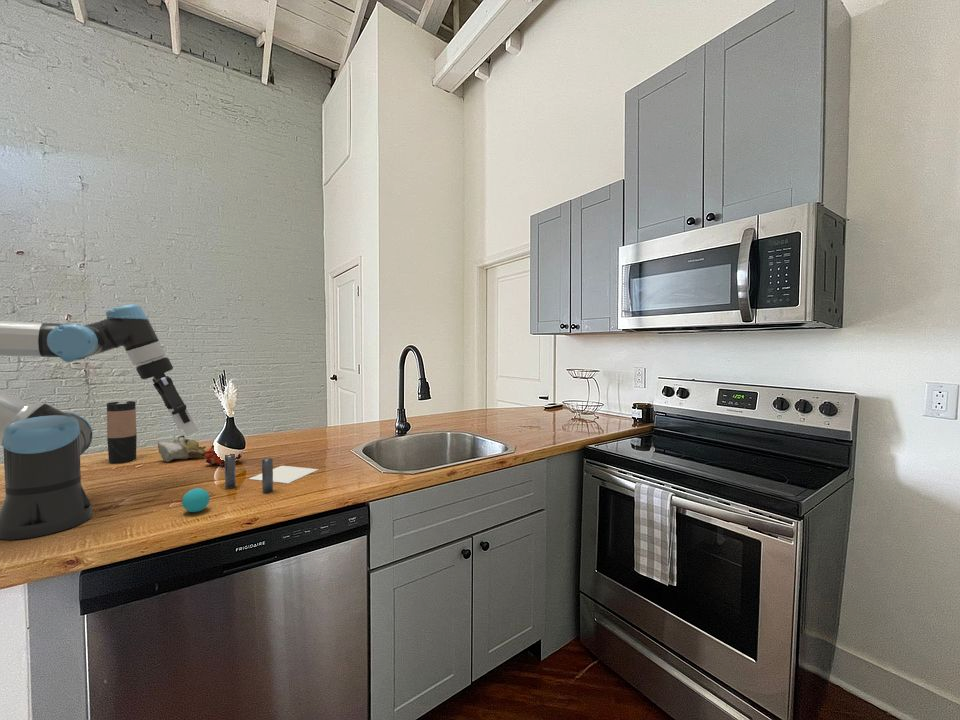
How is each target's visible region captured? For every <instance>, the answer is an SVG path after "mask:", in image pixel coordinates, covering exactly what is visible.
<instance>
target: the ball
mask: <svg viewBox="0 0 960 720" xmlns="http://www.w3.org/2000/svg"><path fill="white" fill-rule="evenodd" d="M210 498H211V497H210V494H209V492H208V491H207V490H206V489H204V488H201V487H200V488H199V487H198V488H192V489H190V490H188V491H187V492H186V493H185V494H184V495H183V496H182V501H181V504H182V507H183V508H184V510H185V511H187V512H189V513H199V512H201V511H203V510H204V509H206V507H207V506H208V505H209V503H210V501H211V500H210Z"/></svg>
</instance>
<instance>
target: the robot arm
mask: <svg viewBox="0 0 960 720" xmlns="http://www.w3.org/2000/svg"><path fill="white" fill-rule="evenodd" d="M105 315H106V319H102V320H100V321H96V322H93V323H88V324H84V325H83V324H80V323H56V322H55V323H52V322H51V323H50V322H49V323H48V322H36V321H20V320H19V321H16V320H14V321H13V320H2V319H1V320H0V356H1V357H33V358H34V357H39V358H41V357H42V358H43V357H44V358H60V360H62V361H63V362H66V363H72V362H74V361H81V360H84V359H86V358H89V357H92V356H95V355H98V354H99V355H100V354H102V353H104V352H106V351H110V350H114V349H117V348H119V347H123V348H124V350H125V352H126V354H127V356H128V357H129V360H130V361H131V363H132V365H133V366H136V368H135V369H136V371H137V373H138V376H139V377H140V379H141V380H147V379H150V378H152V382H153V383H152V384H153V387H154V388H155V390H156V392H157V393H158V395H159V396H160V397H161V400H162V401H163V403H164V406H165V408H166V409H167V410H168V412H169V414H170V416H171V418H172V420H173V421H174V423H175V425H176V427H177V429H178V431H181V430H183V432H184V433H185V435H186V436H190V435H192V434H195V433H196V432H198V431H199V430H198V428H197V426H196V423H195V422H194V420H193V419H192V416H191V415H190V412H189V411H188V408H187V404H186V403H185V402H184V400H183V398H182V396H180V394H179V392H178V391H177V389H176V386H175V385H174V381H173V380H172V378H171V377H170V376H168V375H166V374H165V373H167V372H168V373H169V371H172V370H174V366H173V364H172V362H171V360H170V358H169V357H167V356H166V351H165V350H164V348H165V346H166V345H165V344H163V343H161V342H160V340H159V338H158V335H157V334H156V332H155V330H154V327H153V326H152V323H151V322H150V321H149V318H148V317H147V315H146V313H145V312H144V310H143V308H142V307H141V306H140V305H139V304H136V303H130V304H125V305H120V306H117V307H114V308H111V309H108V310H106V312H105ZM93 434H94V431H93V427H92V425H91V424H90V423H89V421H88V420H87V419H85V418H84V417H83V416H80V415H78V414H75V413H72V412H64V411H63V410H59V409H57V408H55V407H54V406H52V405H50V404H47V403H45V402H40V403H29V402H26V401H25V400H22V399H21V398H18V397H16V396H14V395H12V394H9V393H8V392H6V391H4V390H2V389H0V446H3V447H2V448H3V465H4V466H3V467H4V488H5V493H4V494H5V497H4V500H3V503H2V506H1V508H0V540H4V541H5V540H12V541H13V540H24V539H31V538H36V537H41V536H47V535H50V534H55V533H58V532H62V531H65V530H68V529H69V530H70V529H71V528H74V527H77V526H79V525H81V524H83V523H85V522H88V521H89V520H90V519H91V518H92V517H93V505H92V503H91V501H90V499H89V498H88V495H87V494H86V491H85V490H84V487H83V486H82V481H81V480H82V475H81V474H82V473H81V471H82V470H81V455H83V454H84V453H86V451H87V450H88V449H89V447H90V446H91V444H92V441H93V436H94V435H93Z"/></svg>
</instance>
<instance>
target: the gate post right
mask: <svg viewBox="0 0 960 720" xmlns="http://www.w3.org/2000/svg"><path fill="white" fill-rule="evenodd" d="M273 458H274V457H264V458H261V459H262V460H261V471H262V472H261V474H262V481H261V482H262V483H261V484H262V486H261V487H262V493H263V494H271V493H273V492H274V482H273V469H274V462H273V460H274V459H273Z"/></svg>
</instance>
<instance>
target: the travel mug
mask: <svg viewBox="0 0 960 720" xmlns="http://www.w3.org/2000/svg"><path fill="white" fill-rule="evenodd" d="M136 409H137V408H136V401H133V400H128V401H126V402H119V401H111V402H107V403H106V436H107V437H106V439H107V440H106V441H107V453H108V454H107V455H108V463H109V464H112V465H115V464H126V462H127V463H130V461H131V462H134V461H136V460H137V438H138V437H137V411H136ZM135 459H136V460H135ZM133 460H134V461H133Z"/></svg>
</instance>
